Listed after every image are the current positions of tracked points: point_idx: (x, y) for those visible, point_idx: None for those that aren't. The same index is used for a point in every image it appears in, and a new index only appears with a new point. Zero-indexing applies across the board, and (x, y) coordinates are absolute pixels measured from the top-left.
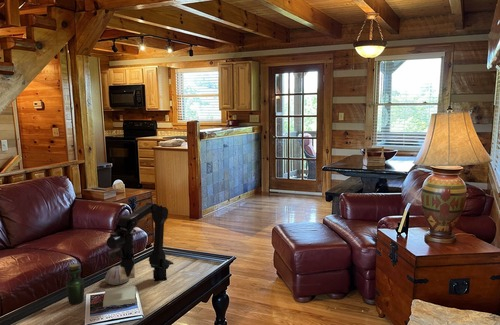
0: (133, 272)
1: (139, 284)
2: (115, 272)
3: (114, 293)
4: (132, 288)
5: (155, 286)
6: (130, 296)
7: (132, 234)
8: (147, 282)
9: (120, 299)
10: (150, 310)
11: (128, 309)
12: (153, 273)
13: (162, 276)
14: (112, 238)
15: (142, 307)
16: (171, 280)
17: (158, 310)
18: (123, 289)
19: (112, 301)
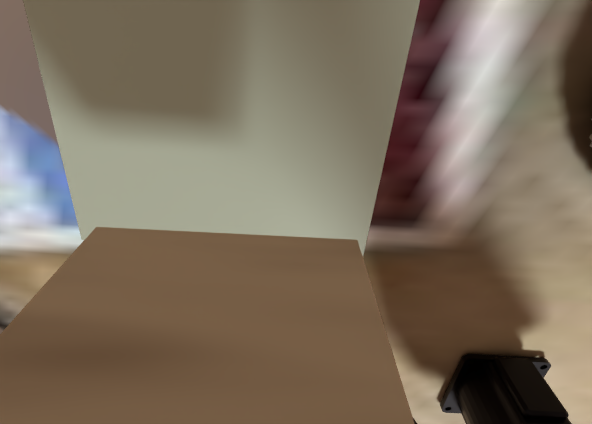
0: None
1: (480, 264)
2: None
3: (251, 42)
4: (314, 234)
5: None
6: (128, 207)
7: None
8: (479, 314)
9: (65, 108)
10: (3, 291)
11: (21, 155)
12: (519, 398)
13: (464, 414)
14: None
15: (52, 252)
16: (418, 420)
17: (3, 329)
18: (327, 152)
19: (28, 7)
